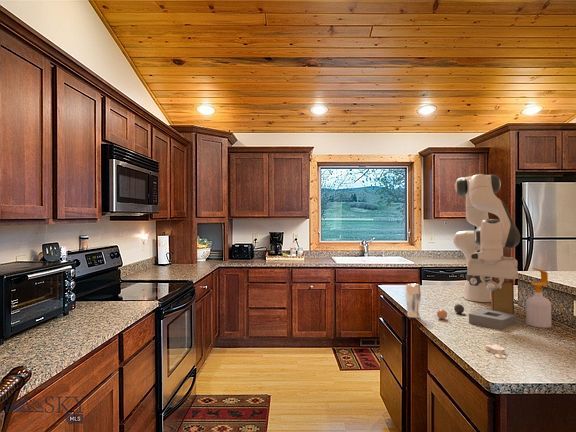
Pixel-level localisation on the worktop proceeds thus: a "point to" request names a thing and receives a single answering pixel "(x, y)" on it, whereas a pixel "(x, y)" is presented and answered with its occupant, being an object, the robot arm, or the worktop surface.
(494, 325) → the housing
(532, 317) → the soap bottle
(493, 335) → the worktop surface
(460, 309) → the black rubber ball
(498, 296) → the food packaging
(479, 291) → the robot arm
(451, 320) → the worktop surface
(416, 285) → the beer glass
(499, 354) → the brush
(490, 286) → the steel ball
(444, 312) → the terracotta ball
